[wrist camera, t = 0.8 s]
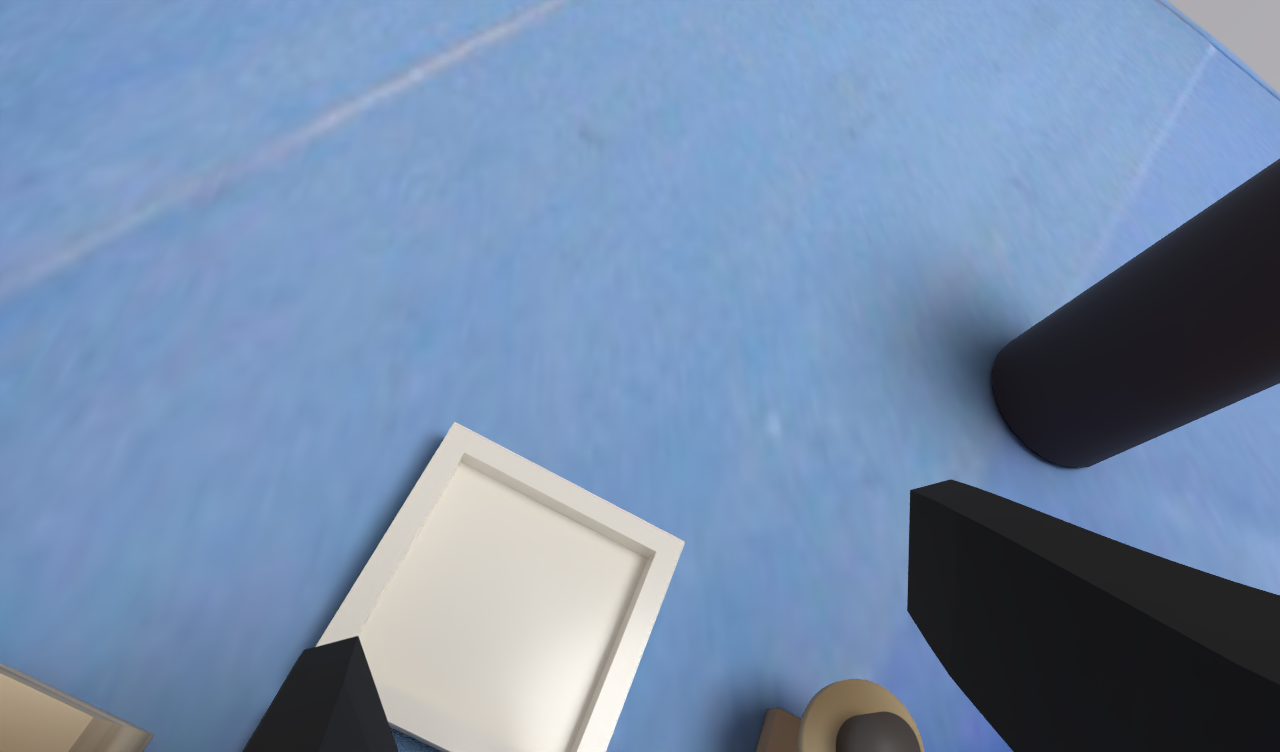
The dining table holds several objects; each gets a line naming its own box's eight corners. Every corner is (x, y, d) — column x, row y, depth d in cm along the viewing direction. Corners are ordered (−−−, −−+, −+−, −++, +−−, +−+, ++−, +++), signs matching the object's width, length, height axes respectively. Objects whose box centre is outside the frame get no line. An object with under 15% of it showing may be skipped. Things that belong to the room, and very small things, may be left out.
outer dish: (569, 813, 23) (581, 815, 22) (299, 683, 23) (296, 676, 21) (670, 552, 28) (684, 541, 27) (449, 438, 27) (454, 421, 26)
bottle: (1129, 435, 38) (1736, 158, 22) (1055, 495, 35) (1703, 224, 18) (1040, 324, 40) (1539, -14, 23) (961, 371, 37) (1476, 18, 20)
